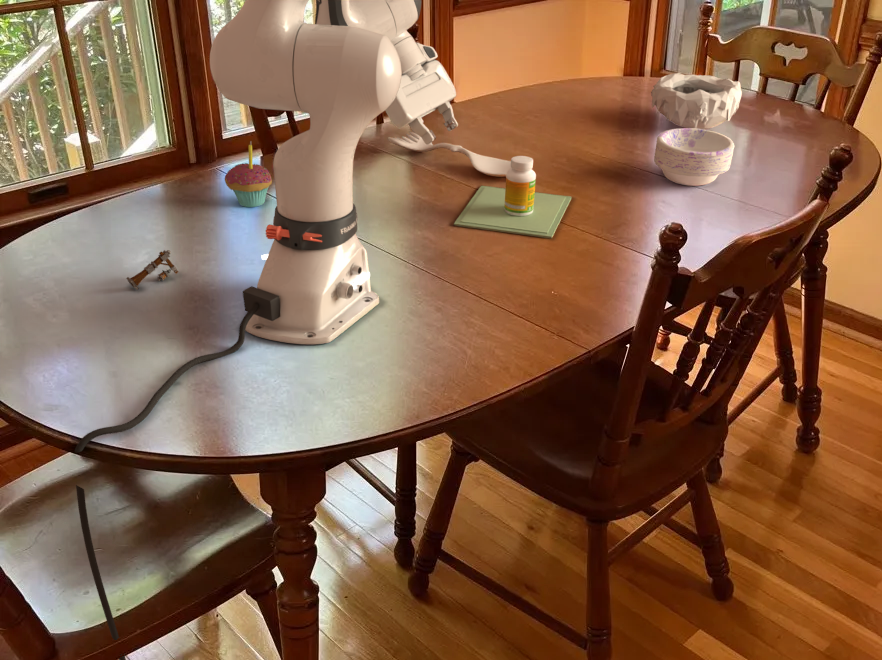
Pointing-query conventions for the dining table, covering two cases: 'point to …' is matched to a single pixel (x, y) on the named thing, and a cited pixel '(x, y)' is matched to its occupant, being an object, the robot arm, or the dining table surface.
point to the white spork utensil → (478, 161)
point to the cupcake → (249, 182)
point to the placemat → (492, 216)
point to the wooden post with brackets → (151, 267)
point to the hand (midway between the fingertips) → (443, 135)
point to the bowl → (696, 99)
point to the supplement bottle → (520, 187)
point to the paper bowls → (693, 155)
